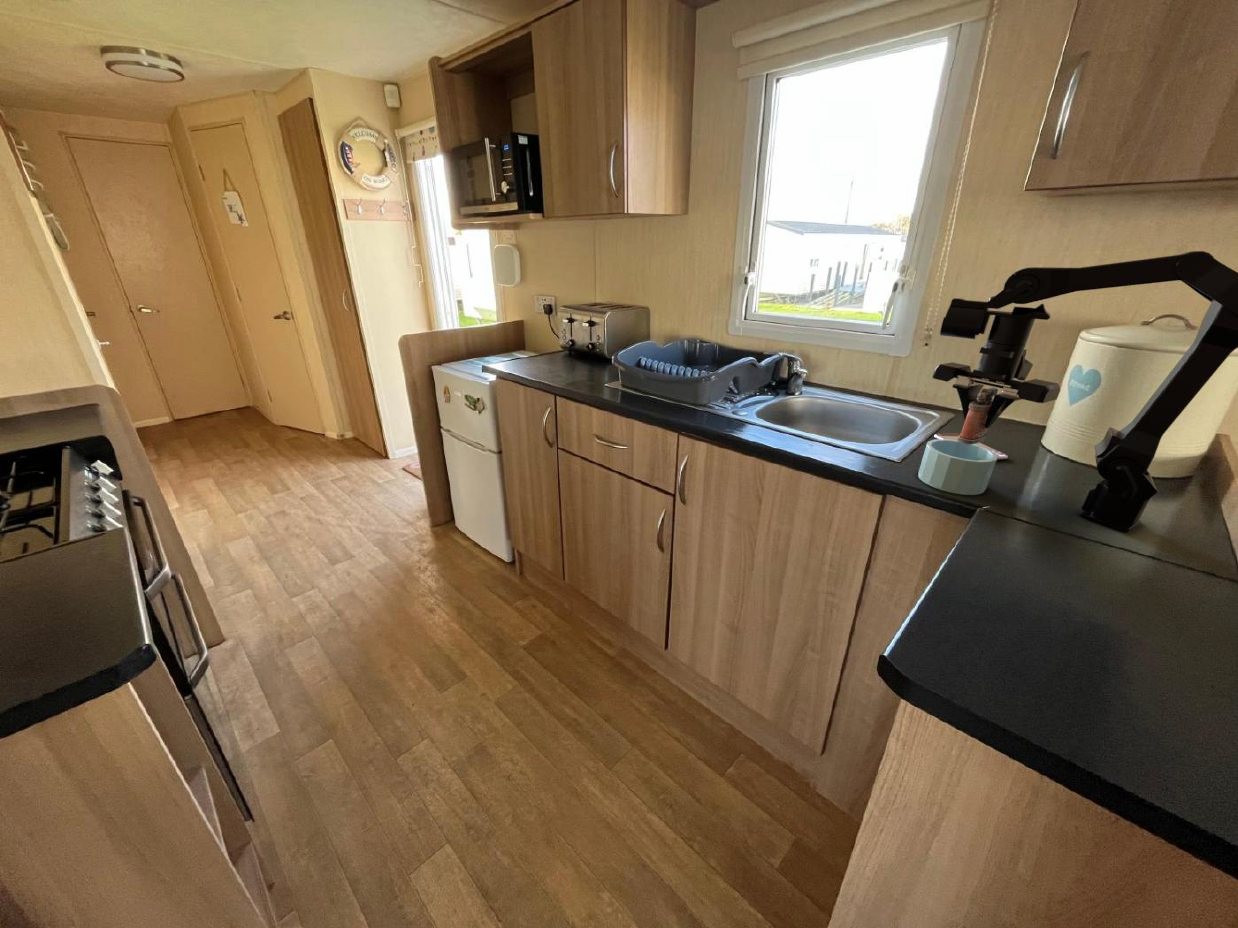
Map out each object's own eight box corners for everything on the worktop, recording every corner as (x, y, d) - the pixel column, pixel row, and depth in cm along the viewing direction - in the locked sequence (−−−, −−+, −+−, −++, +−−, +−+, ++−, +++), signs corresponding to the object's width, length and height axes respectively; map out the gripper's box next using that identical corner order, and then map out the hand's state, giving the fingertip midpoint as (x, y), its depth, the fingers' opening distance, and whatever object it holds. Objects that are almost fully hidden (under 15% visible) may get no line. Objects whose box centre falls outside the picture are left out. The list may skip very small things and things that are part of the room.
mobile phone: (960, 432, 122) (1011, 455, 108) (958, 435, 122) (1009, 459, 109) (932, 433, 121) (980, 456, 107) (931, 436, 121) (979, 460, 108)
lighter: (972, 446, 91) (990, 394, 87) (952, 440, 94) (969, 390, 90) (989, 437, 95) (1008, 388, 91) (970, 432, 98) (987, 384, 94)
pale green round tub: (996, 486, 96) (1009, 454, 93) (966, 500, 91) (978, 466, 88) (937, 465, 105) (946, 435, 102) (906, 476, 100) (915, 445, 97)
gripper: (1090, 349, 83) (1054, 434, 90) (974, 331, 98) (950, 406, 104) (1061, 354, 78) (1025, 444, 84) (943, 335, 93) (920, 413, 99)
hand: (977, 424), depth 93 cm, fingers closed on lighter, 3 cm apart
